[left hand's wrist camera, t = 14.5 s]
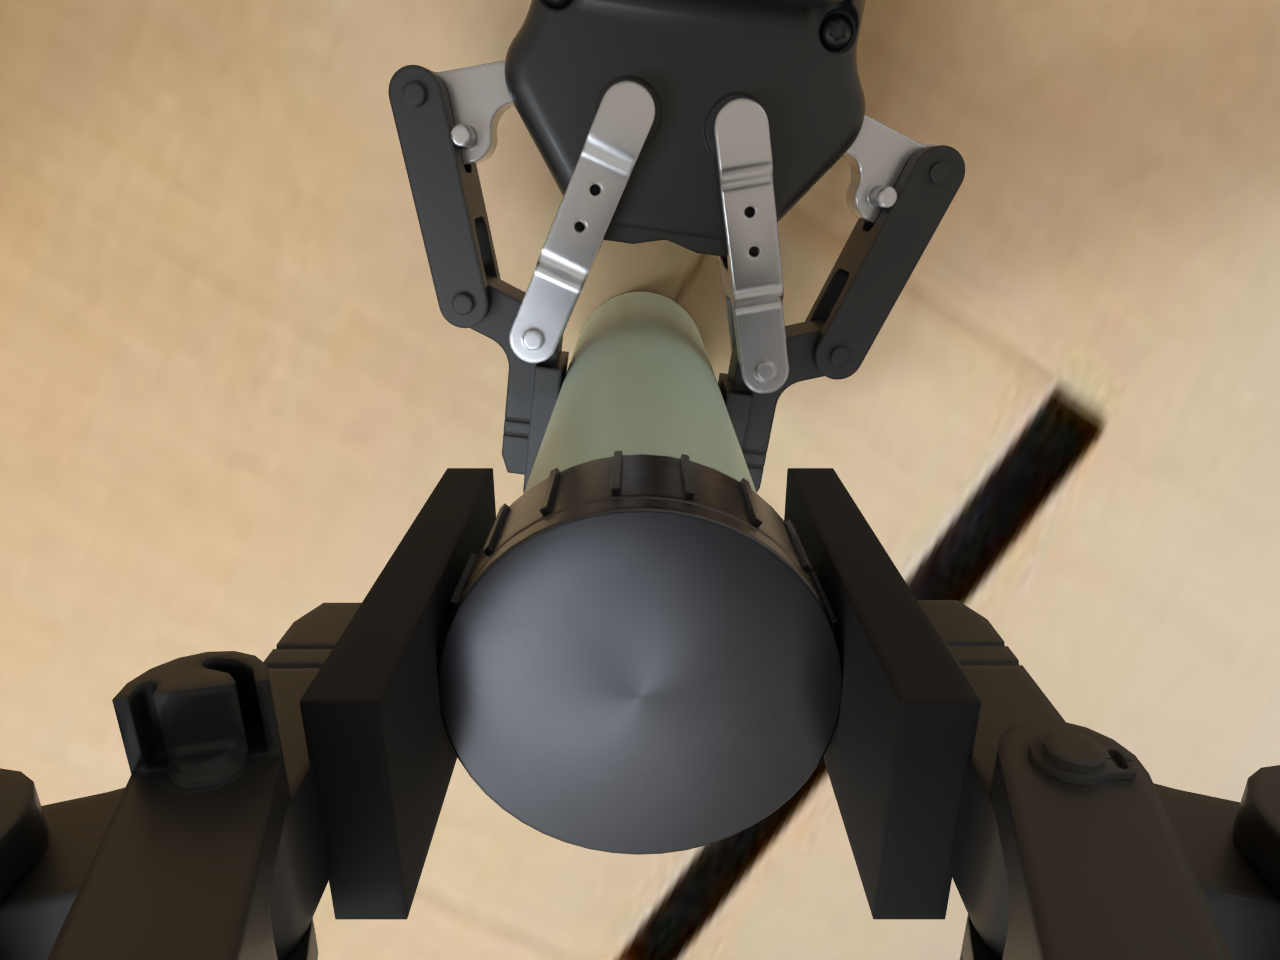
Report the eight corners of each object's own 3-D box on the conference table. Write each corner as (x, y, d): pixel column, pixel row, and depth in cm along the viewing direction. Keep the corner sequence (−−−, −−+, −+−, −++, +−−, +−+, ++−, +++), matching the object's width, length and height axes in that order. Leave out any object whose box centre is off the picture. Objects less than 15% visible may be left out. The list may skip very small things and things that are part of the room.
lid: (808, 426, 11) (841, 478, 9) (823, 746, 13) (853, 842, 11) (431, 468, 11) (390, 527, 9) (496, 777, 13) (474, 877, 11)
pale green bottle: (697, 284, 28) (802, 501, 10) (708, 408, 30) (816, 796, 11) (569, 298, 28) (439, 539, 10) (586, 421, 30) (502, 825, 12)
